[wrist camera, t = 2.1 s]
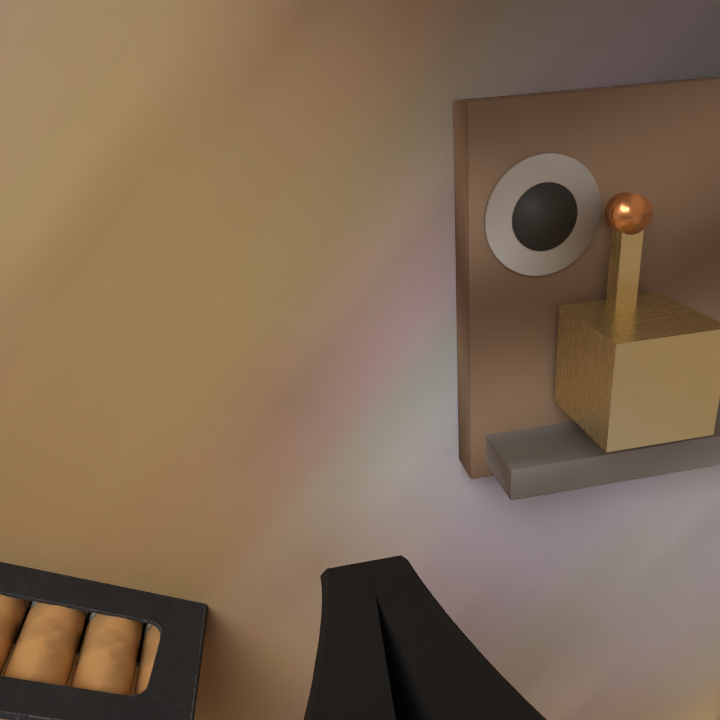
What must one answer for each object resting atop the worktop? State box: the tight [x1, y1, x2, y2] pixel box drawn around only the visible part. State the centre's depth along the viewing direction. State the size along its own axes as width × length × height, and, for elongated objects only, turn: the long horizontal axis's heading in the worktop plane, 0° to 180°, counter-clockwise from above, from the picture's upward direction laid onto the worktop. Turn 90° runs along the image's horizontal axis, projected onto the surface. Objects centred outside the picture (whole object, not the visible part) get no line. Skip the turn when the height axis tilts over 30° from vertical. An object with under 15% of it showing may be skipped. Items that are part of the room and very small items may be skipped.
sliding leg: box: [554, 192, 720, 452], centre depth 17 cm, size 6×3×3 cm, turn 4°
